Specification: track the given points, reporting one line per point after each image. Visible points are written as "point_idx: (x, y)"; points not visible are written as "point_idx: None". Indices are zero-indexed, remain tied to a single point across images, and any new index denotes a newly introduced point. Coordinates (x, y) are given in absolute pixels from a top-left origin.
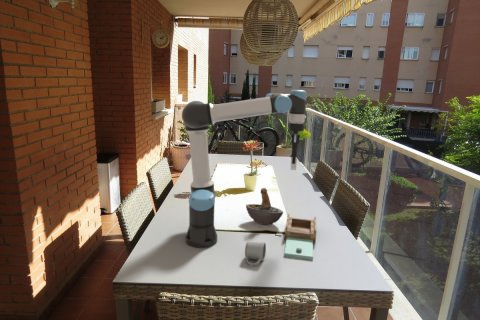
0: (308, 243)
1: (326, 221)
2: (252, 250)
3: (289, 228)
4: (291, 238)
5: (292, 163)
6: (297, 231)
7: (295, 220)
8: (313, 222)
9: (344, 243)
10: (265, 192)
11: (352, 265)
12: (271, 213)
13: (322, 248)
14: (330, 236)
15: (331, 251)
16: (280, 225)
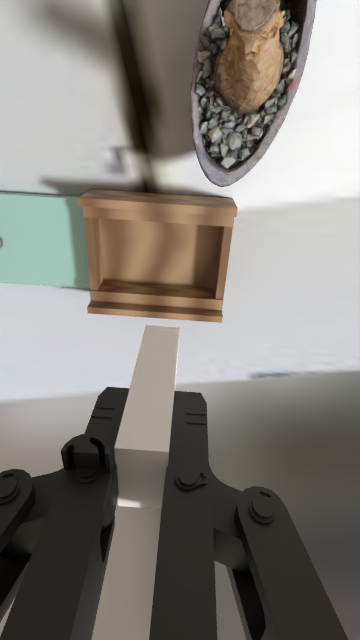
0: (64, 273)
1: (281, 341)
2: None
3: (109, 213)
4: (81, 217)
5: (105, 391)
6: (160, 240)
7: (222, 238)
8: (194, 306)
9: (123, 367)
10: (230, 44)
11: (5, 365)
12: (191, 119)
13: (69, 309)
14: None
15: (60, 330)
16: None
